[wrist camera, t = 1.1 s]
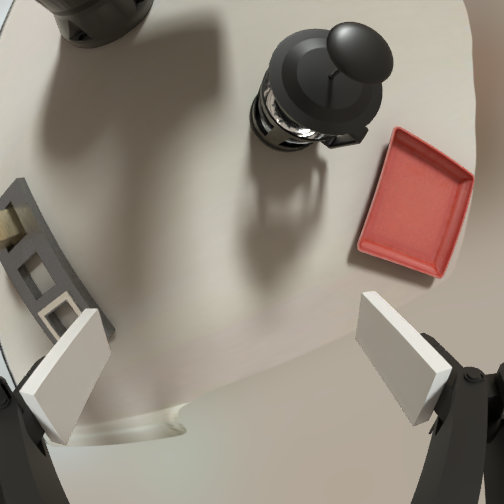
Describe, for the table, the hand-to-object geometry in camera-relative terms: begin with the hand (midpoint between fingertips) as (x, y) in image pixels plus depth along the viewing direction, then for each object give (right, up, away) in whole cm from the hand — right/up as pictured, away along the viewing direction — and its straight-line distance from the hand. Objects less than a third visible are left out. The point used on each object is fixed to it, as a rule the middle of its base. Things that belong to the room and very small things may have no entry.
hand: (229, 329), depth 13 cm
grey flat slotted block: (-32, 0, +23) cm, 40 cm away
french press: (+6, +21, +21) cm, 30 cm away
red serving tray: (+26, +11, +26) cm, 38 cm away
